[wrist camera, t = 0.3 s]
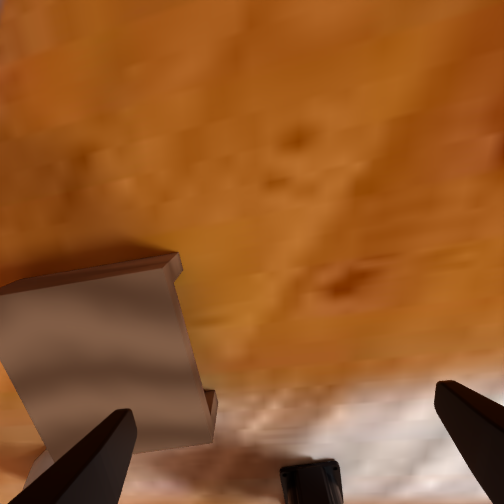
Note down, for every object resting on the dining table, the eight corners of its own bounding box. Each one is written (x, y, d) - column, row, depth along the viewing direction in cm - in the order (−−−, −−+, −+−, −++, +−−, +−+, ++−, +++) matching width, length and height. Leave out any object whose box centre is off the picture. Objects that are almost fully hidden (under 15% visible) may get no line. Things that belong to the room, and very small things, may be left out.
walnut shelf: (218, 403, 25) (212, 443, 21) (84, 422, 26) (55, 465, 22) (178, 252, 21) (162, 268, 17) (19, 279, 21) (-31, 300, 18)
